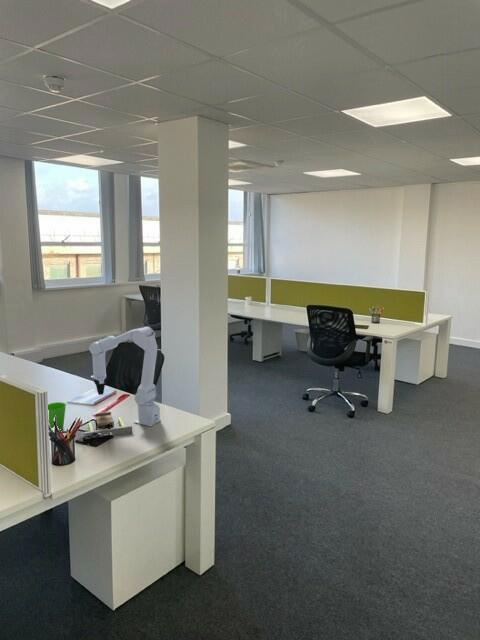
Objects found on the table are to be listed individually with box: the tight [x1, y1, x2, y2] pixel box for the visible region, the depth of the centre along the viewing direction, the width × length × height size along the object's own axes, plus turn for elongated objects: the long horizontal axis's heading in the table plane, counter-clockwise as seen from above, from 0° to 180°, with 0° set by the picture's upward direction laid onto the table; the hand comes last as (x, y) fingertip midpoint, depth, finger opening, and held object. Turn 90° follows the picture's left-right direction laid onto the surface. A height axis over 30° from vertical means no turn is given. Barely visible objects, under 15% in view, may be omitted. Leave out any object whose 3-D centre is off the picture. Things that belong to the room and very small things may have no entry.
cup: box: [47, 401, 67, 430], centre depth 209 cm, size 9×9×11 cm
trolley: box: [94, 411, 115, 429], centre depth 216 cm, size 10×7×4 cm
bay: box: [83, 417, 133, 438], centre depth 209 cm, size 14×20×3 cm
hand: (100, 394), depth 225 cm, fingers closed
